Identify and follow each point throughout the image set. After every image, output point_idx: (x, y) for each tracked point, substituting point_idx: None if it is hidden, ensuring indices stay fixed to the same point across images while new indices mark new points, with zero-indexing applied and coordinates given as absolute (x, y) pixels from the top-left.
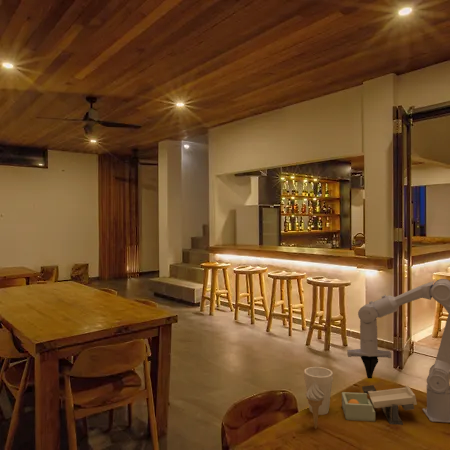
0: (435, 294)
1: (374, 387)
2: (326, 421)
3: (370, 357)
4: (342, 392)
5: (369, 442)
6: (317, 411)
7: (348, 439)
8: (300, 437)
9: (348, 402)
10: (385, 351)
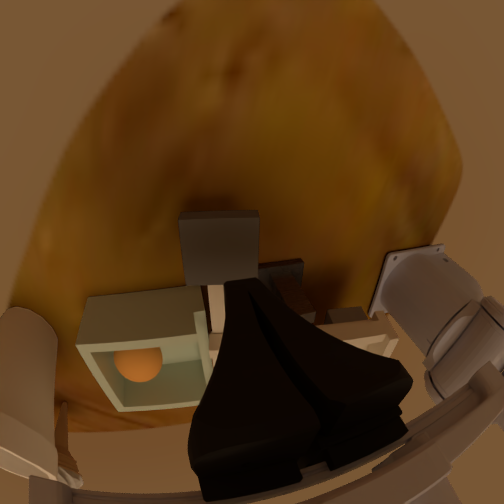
0: None
1: (256, 252)
2: (73, 379)
3: (317, 462)
4: (79, 348)
5: (186, 418)
6: (67, 443)
7: (142, 419)
8: (55, 419)
9: (118, 370)
10: (495, 410)
